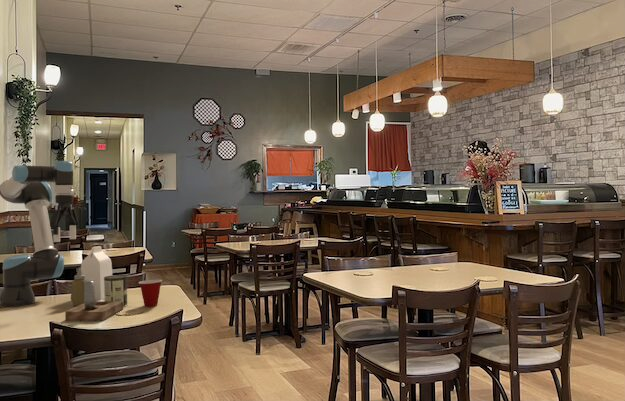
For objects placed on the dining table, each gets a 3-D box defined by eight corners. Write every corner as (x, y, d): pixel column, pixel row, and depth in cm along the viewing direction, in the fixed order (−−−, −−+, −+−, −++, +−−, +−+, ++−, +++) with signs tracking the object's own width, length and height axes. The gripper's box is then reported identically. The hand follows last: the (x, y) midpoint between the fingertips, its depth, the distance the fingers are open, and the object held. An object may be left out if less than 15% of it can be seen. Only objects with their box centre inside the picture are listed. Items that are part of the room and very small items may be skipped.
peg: (82, 317, 216) (82, 282, 216) (87, 315, 220) (87, 280, 220) (92, 317, 216) (91, 282, 216) (96, 315, 220) (96, 280, 220)
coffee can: (117, 303, 248) (117, 274, 248) (132, 305, 243) (131, 275, 242) (99, 307, 239) (99, 277, 239) (113, 309, 234) (113, 279, 234)
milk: (100, 299, 255) (100, 248, 255) (79, 299, 257) (79, 247, 256) (113, 295, 267) (113, 245, 266) (93, 294, 269) (93, 245, 268)
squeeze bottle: (82, 307, 238) (81, 269, 238) (66, 306, 240) (66, 268, 239) (92, 303, 246) (92, 266, 246) (78, 303, 248) (77, 266, 247)
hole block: (65, 321, 213) (65, 311, 213) (89, 309, 233) (88, 301, 233) (102, 321, 212) (102, 311, 212) (123, 310, 232) (122, 301, 232)
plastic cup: (151, 302, 249) (151, 277, 249) (167, 304, 244) (167, 279, 244) (133, 306, 240) (133, 281, 240) (149, 309, 234) (149, 283, 234)
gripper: (57, 194, 222) (57, 243, 223) (85, 194, 247) (86, 237, 248) (40, 194, 223) (41, 243, 223) (70, 194, 248) (71, 237, 248)
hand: (65, 240), depth 236 cm, fingers open, 13 cm apart
